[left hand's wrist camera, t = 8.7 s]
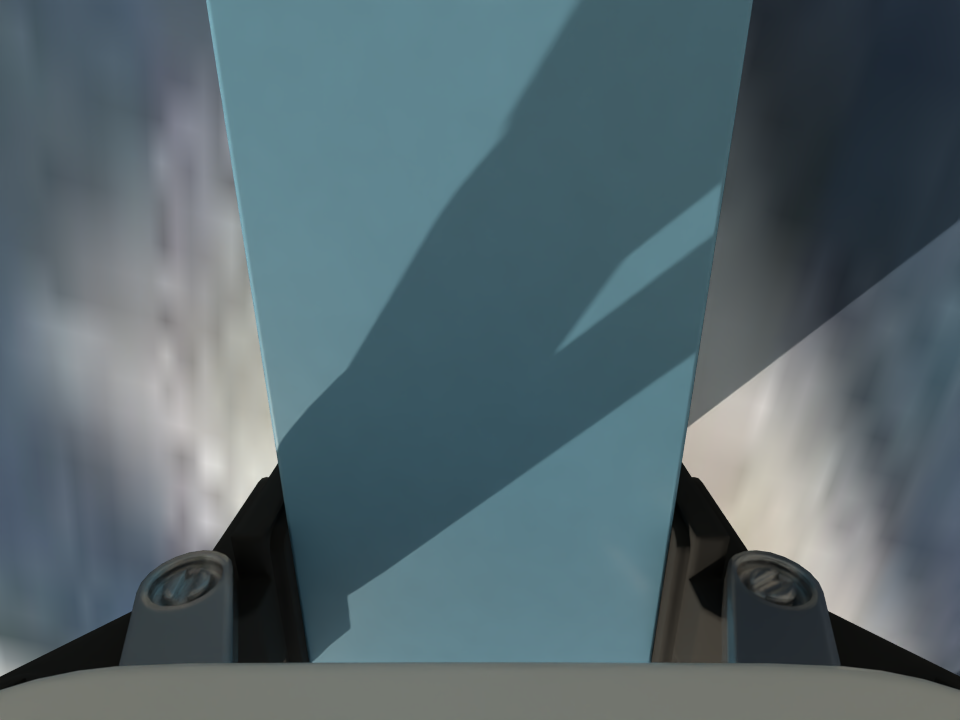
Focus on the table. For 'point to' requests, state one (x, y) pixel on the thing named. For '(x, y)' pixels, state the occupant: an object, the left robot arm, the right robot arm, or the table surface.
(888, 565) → the table surface
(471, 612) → the blue drawer box
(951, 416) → the table surface
